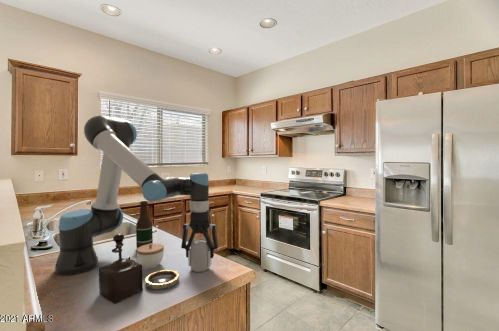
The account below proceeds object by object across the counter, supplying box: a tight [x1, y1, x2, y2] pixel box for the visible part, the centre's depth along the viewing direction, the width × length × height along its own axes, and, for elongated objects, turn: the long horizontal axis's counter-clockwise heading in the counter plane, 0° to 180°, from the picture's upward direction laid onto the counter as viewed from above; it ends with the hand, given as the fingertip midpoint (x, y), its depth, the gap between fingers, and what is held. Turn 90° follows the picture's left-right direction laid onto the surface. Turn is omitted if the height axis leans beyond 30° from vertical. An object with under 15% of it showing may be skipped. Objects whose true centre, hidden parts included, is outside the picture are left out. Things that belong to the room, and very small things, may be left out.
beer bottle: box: [135, 200, 154, 250], centre depth 131 cm, size 8×8×24 cm
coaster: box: [145, 269, 180, 291], centre depth 97 cm, size 12×12×2 cm
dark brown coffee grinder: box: [97, 233, 144, 305], centre depth 91 cm, size 16×11×18 cm
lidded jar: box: [136, 243, 165, 269], centre depth 112 cm, size 11×11×9 cm
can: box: [190, 238, 210, 273], centre depth 108 cm, size 8×8×12 cm
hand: (200, 265), depth 108 cm, fingers open, 8 cm apart
